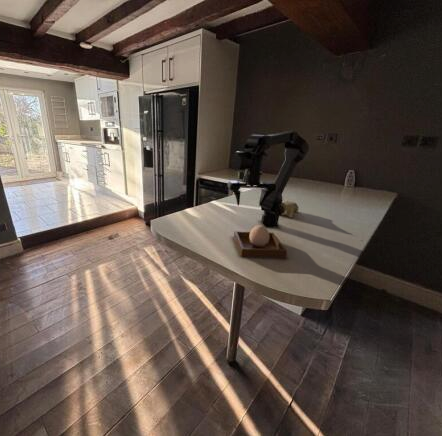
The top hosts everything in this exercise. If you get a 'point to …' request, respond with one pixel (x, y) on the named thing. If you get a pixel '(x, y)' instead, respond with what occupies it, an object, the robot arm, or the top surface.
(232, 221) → the top surface
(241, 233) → the tray
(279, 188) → the robot arm
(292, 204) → the fossil
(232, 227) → the top surface
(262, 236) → the egg
